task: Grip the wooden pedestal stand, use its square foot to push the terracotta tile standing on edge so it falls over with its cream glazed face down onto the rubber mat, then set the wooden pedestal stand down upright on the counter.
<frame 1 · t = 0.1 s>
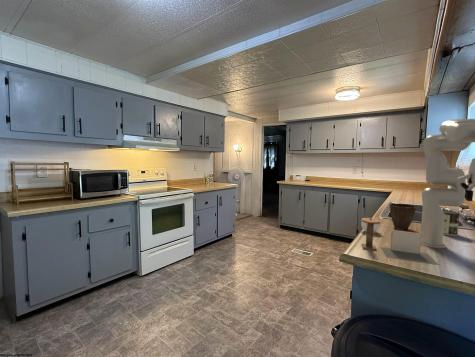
tile: (404, 251, 118), resting on mat
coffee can: (446, 233, 151), on the counter
mat: (407, 256, 113), on the counter
plant pot: (400, 228, 161), on the counter
wooden pedestal stand: (368, 248, 122), on the counter
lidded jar: (369, 232, 152), on the counter
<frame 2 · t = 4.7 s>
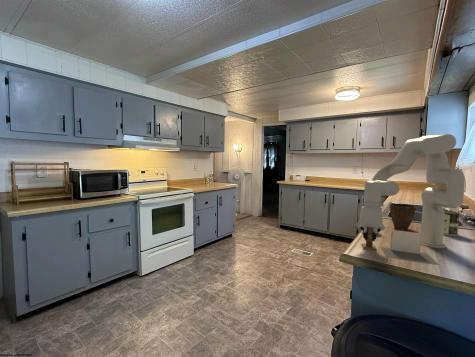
hand: (369, 239, 121), 5 cm above the counter, tool pointing down, fingers closed on wooden pedestal stand, 3 cm apart
wooden pedestal stand: (368, 248, 122), on the counter, touching gripper
everything else where it was.
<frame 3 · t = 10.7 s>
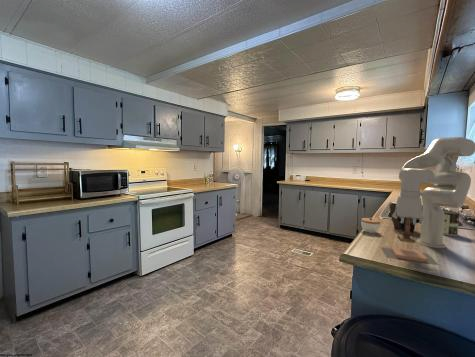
hand: (406, 231, 116), 11 cm above the counter, tool pointing down, fingers closed on wooden pedestal stand, 3 cm apart
tile: (405, 250, 117), point 1 cm above the counter, tilted 90°, touching mat
wooden pedestal stand: (405, 240, 116), point 7 cm above the counter, touching gripper
everything else where it was.
when the fingers open (6 cm above the counter, at t = 17.3 s): wooden pedestal stand drops 2 cm, on the counter.
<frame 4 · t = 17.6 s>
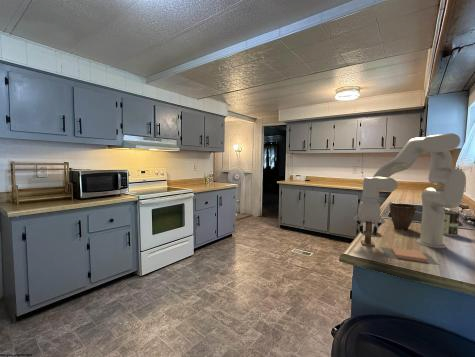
hand: (368, 233, 127), 6 cm above the counter, tool pointing down, fingers open, 5 cm apart
wooden pedestal stand: (367, 245, 127), on the counter
everything else where it was.
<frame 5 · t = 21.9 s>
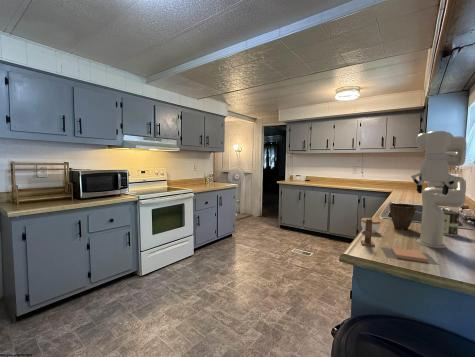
hand: (431, 193, 112), 30 cm above the counter, tool pointing down, fingers open, 9 cm apart
nothing on the counter moved.
at the end: tile tilted 90°; tile inside the target area (1.5 cm from its centre), point 1.2 cm above the counter; wooden pedestal stand inside the target area (0.1 cm from its centre), on the counter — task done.
